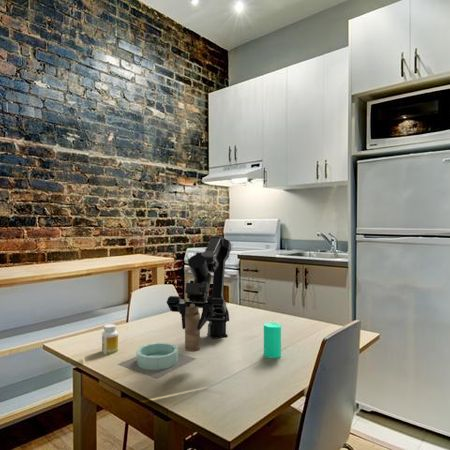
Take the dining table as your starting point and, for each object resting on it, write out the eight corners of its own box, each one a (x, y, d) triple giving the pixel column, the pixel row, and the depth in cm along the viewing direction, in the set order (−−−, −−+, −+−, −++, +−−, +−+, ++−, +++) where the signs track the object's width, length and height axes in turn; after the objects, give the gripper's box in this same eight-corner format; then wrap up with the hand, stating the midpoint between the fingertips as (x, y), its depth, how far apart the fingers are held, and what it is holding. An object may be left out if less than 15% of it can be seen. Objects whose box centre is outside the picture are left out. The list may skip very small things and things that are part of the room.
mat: (158, 349, 127) (158, 347, 127) (196, 360, 117) (196, 358, 117) (117, 366, 112) (117, 364, 112) (157, 380, 102) (157, 378, 102)
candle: (270, 359, 118) (270, 323, 118) (260, 353, 123) (260, 319, 123) (284, 356, 120) (284, 321, 120) (274, 350, 126) (274, 317, 126)
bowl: (171, 351, 123) (171, 340, 123) (182, 365, 112) (182, 353, 112) (133, 357, 118) (133, 346, 118) (141, 372, 106) (141, 360, 106)
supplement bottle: (121, 351, 125) (121, 324, 125) (111, 356, 120) (111, 328, 120) (108, 349, 127) (108, 322, 127) (98, 354, 122) (98, 327, 122)
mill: (197, 345, 112) (196, 301, 112) (202, 350, 108) (201, 304, 107) (183, 347, 110) (183, 302, 110) (187, 352, 106) (187, 305, 106)
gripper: (168, 271, 114) (154, 313, 104) (224, 273, 110) (216, 317, 100) (177, 290, 122) (165, 332, 111) (229, 292, 118) (222, 336, 107)
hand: (191, 329), depth 107 cm, fingers closed on mill, 5 cm apart
